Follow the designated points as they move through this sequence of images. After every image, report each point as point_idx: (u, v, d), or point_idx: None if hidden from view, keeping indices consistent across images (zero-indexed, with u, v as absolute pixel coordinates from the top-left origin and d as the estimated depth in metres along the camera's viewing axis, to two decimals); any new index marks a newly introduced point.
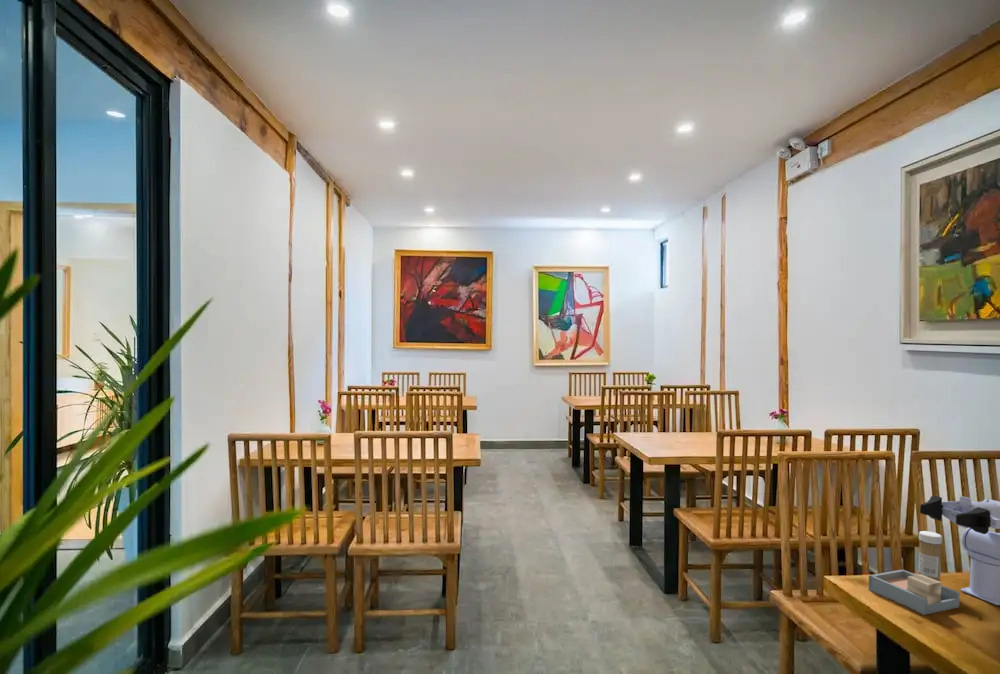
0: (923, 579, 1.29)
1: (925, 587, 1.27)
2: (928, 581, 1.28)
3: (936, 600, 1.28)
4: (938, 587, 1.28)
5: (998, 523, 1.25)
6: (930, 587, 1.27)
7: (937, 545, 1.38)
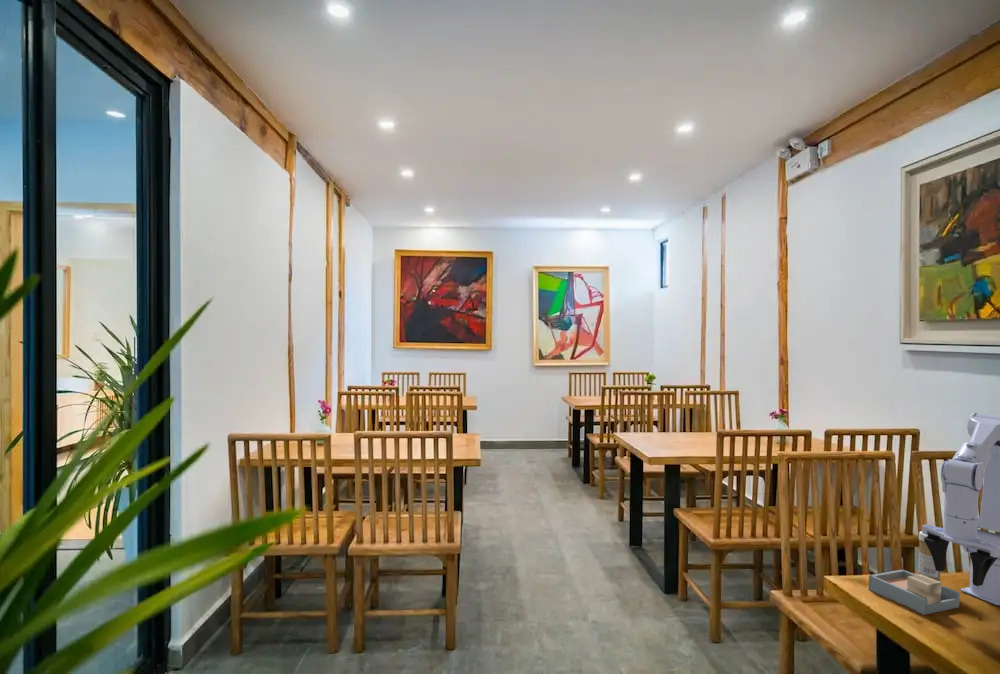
0: (923, 579, 1.29)
1: (925, 587, 1.27)
2: (928, 581, 1.28)
3: (936, 600, 1.28)
4: (938, 587, 1.28)
5: (998, 553, 1.16)
6: (930, 587, 1.27)
7: None
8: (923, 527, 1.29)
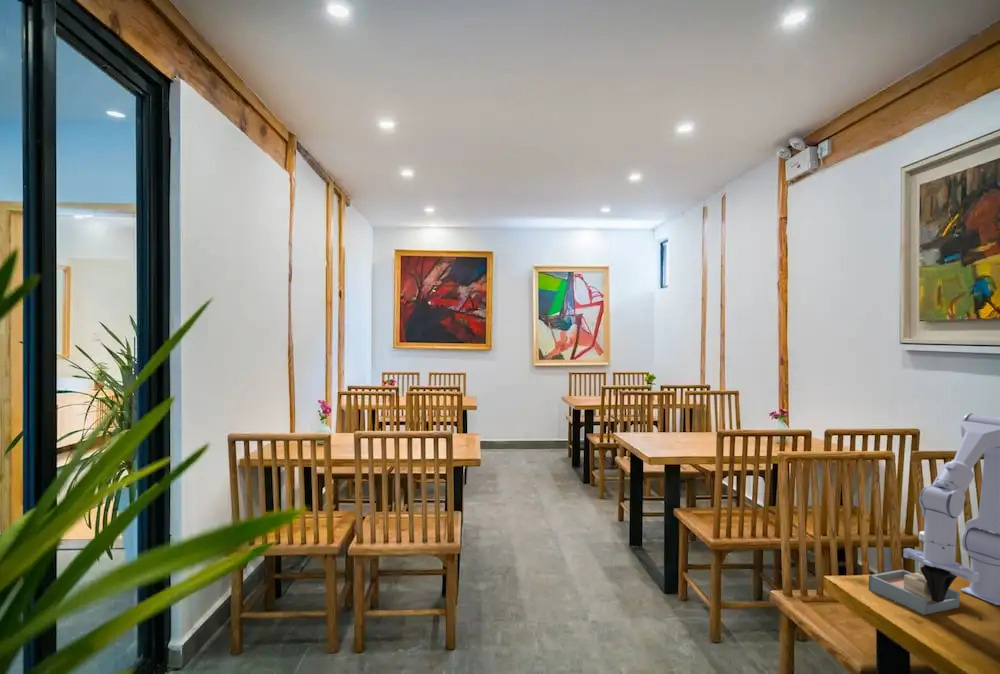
0: (919, 578, 1.30)
1: (922, 585, 1.28)
2: (924, 579, 1.29)
3: None
4: None
5: (975, 578, 1.20)
6: (927, 585, 1.28)
7: None
8: (904, 551, 1.33)
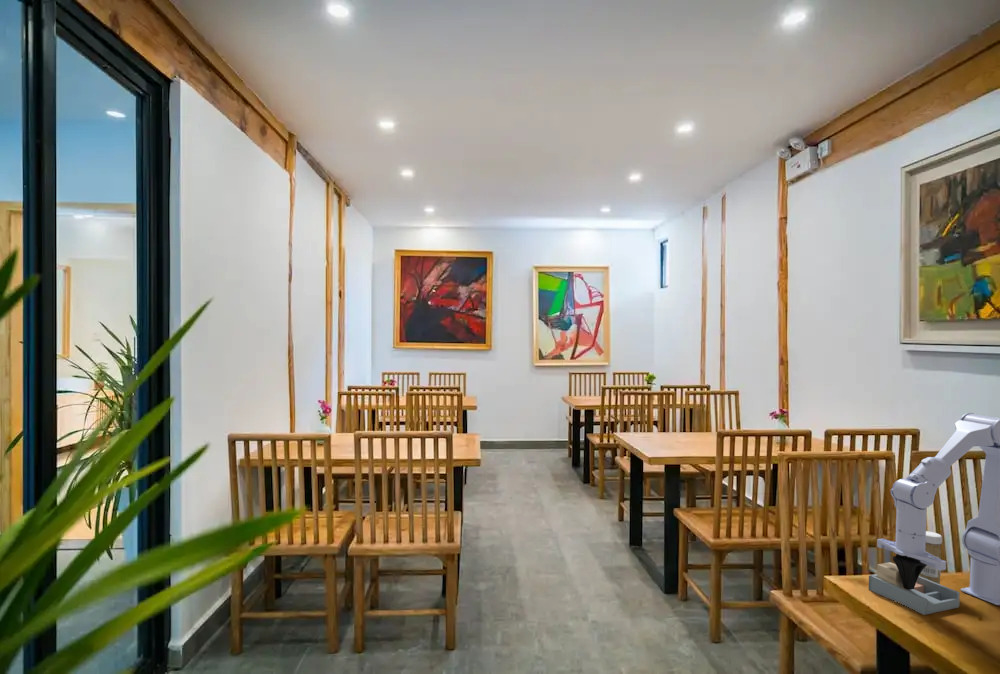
0: (891, 567, 1.36)
1: (894, 574, 1.34)
2: (896, 568, 1.35)
3: None
4: None
5: (942, 566, 1.26)
6: (898, 574, 1.34)
7: (937, 545, 1.38)
8: (878, 541, 1.39)
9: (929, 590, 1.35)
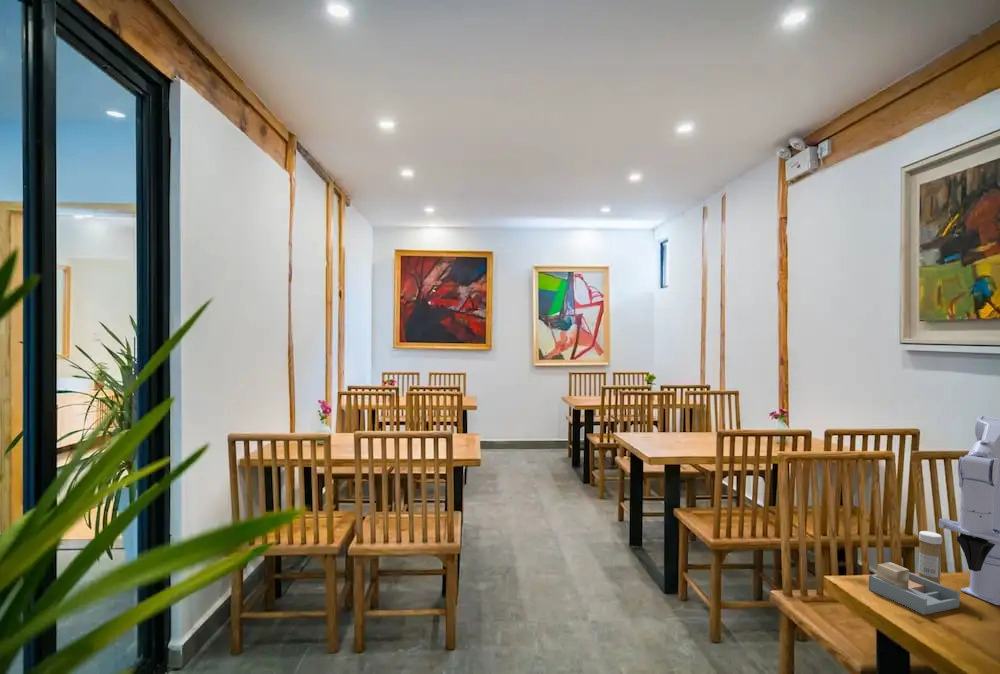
0: (892, 567, 1.36)
1: (894, 574, 1.34)
2: (896, 568, 1.35)
3: (904, 586, 1.34)
4: (906, 574, 1.34)
5: None
6: (898, 574, 1.34)
7: (937, 545, 1.38)
8: (940, 521, 1.32)
9: (929, 590, 1.35)
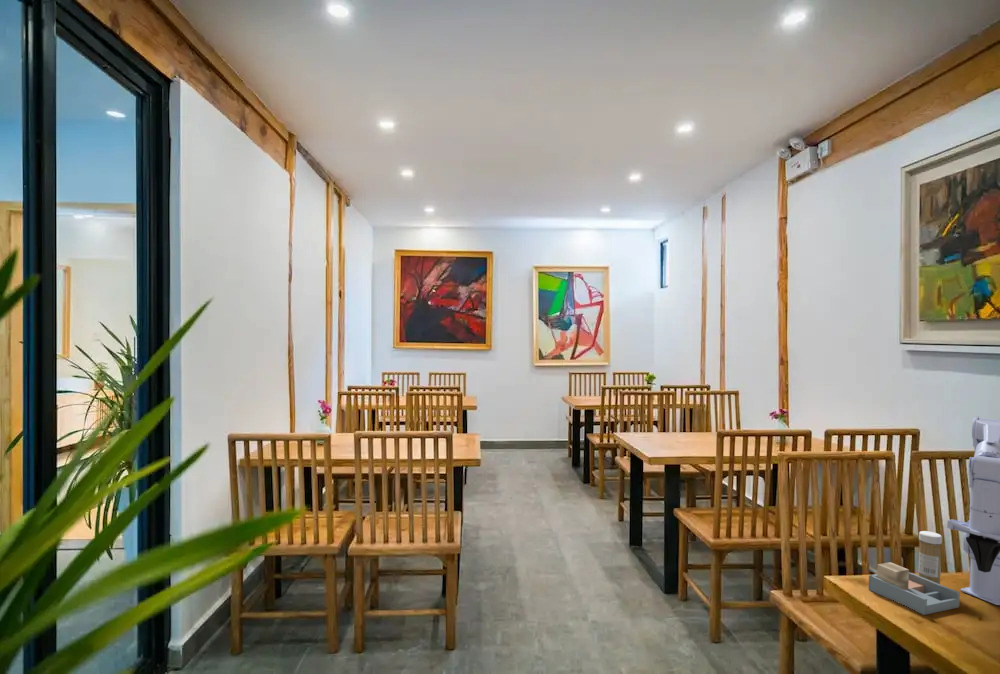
0: (892, 567, 1.36)
1: (894, 574, 1.34)
2: (896, 568, 1.35)
3: (904, 586, 1.34)
4: (906, 574, 1.34)
5: None
6: (898, 574, 1.34)
7: (937, 545, 1.38)
8: (948, 522, 1.32)
9: (929, 590, 1.35)
